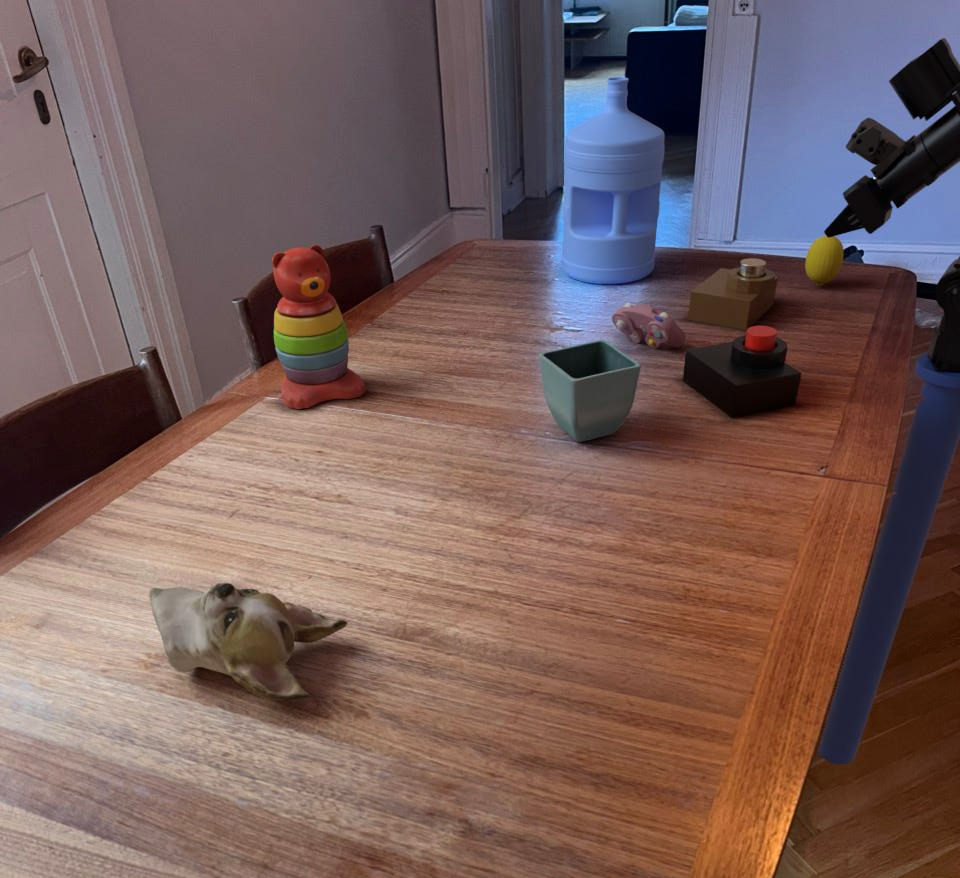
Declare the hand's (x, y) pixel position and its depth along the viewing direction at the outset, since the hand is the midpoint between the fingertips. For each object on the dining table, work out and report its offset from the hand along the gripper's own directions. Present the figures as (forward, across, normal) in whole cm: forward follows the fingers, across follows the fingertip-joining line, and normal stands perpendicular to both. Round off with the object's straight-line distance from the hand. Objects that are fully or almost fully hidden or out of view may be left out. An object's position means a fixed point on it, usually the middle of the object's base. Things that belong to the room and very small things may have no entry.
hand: (826, 234), depth 125 cm
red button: (+5, +25, +5) cm, 26 cm away
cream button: (+12, 0, -2) cm, 12 cm away
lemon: (+12, -17, +6) cm, 22 cm away
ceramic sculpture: (+21, +98, -3) cm, 101 cm away
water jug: (+35, -9, -17) cm, 40 cm away
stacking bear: (+44, +52, -26) cm, 72 cm away
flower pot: (+18, +46, 0) cm, 49 cm away
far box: (+17, 0, +1) cm, 17 cm away
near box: (+10, +27, +8) cm, 30 cm away
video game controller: (+22, +18, -3) cm, 28 cm away
